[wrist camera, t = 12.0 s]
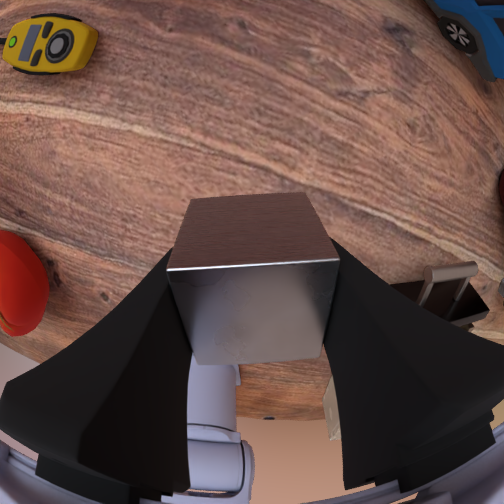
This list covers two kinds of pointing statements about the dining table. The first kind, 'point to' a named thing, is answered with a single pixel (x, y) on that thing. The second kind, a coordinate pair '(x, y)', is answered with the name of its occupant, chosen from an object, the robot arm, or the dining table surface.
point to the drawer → (448, 293)
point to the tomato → (21, 286)
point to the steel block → (253, 278)
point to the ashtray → (501, 186)
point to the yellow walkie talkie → (49, 44)
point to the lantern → (502, 289)
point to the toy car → (475, 32)
